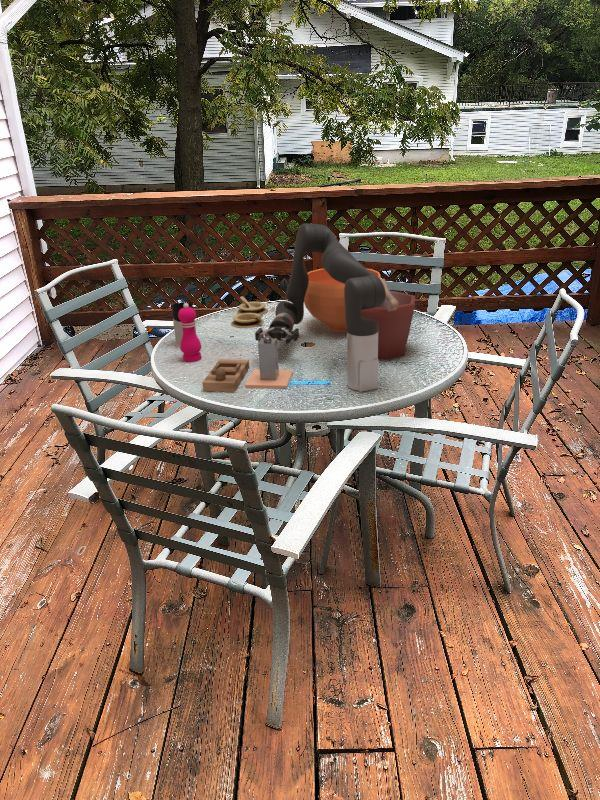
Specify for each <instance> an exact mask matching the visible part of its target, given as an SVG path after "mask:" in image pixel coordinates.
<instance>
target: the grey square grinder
mask: <svg viewBox="0 0 600 800" xmlns="http://www.w3.org/2000/svg"><path fill="white" fill-rule="evenodd" d="M257 350H258V352H257V353H258V364H259V365H258V366H259V369H260V380H277V378H278V376H279V370H280V368H279V367H280V366H279V364H280V363H279V352H278V350H279V349H278V340H277V339H271V337H270V336H265V335H264V337H263V338H261V340H260V341H259V343H258V342H257Z"/></svg>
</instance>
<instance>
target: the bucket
mask: <svg viewBox="0 0 600 800" xmlns="http://www.w3.org/2000/svg"><path fill="white" fill-rule="evenodd" d="M380 280H381V281H382V283H383V285H384V287H385V291H386V298H385V301H384V303H383V304H382V305H380V306H378V307H376V308H370V309H363V310H361V316H363V317H367V318H371V319H374V320H376V321H377V322H378V360H379V359H383V360H382V361H387V360H388V359H389V360H392V359H396V358H401V357H404V356H405V353H406V349H407V346H408V345H407V344H408V340H409V335H410V331H411V326H412V321H413V319H414V318H413V317H414V313H415V312H414V311H415V304H416V295H414V294H408V293H404V292H398V291H395V290H390V289H389V288H388V284H387V282H386V279H385V278H381V279H380ZM389 360H388V361H389Z"/></svg>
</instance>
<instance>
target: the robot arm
mask: <svg viewBox="0 0 600 800" xmlns="http://www.w3.org/2000/svg"><path fill="white" fill-rule="evenodd" d="M307 252H308V253H318V254H319V253H320V254H322V257H321V264H322V267H323V269H325V270H326V272H327V273H328V274H329V275H330V276H331V277H332V278H333V279H335V280H336V281H338V282H341V283H344V284H345V287H344V299H345V316H346V325H347V332H346V373H347V375H346V376H347V377H346V378H347V379H346V382H347V384H346V385H347V387H348V388H349V389H350V390H352V391H358V392H360V393H362V392H366V391H372V390H377V389H379V370H380V369H379V365H380V364H379V363H380V361H379V359H378V322H377V321H376V320H374V319H371V318H367V317H363V316H361V310H363V309H370V308H376V307H378V306H380V305H382V304H383V303H384V301H385V298H386V291H385V287H384V285H383V283H382V281H381V280H380V279H379V277H377V276H376V275H375V274H373V273H372V272H371V271H369V270H368V269H369V268H367V267H365V266H364V265H363V264H361V262H359V261H358V260H357V259H356V258H355V257H354V256H353V254H352V253H351V252H350V251H349V250H348V249H347V248H346V247H344V246H343V244H342V243H341V242H340V241H339V240H338V238H336V236H335V234H334V233H333V231H332V230H331V228H330V227H328V225H327V226H326V225H324V224H318V223H308V222H307V223H302V224H301V225H299V228H298V229H297V233H296V238H295V245H294V250H293V257H292V265H291V271H290V272H291V273H290V276H289V281H288V284H287V287H286V291H285V298H286V299H287V300H281V301H279V302H278V303H277V305H276V307H275V310H274V312H275V317H274V318H273V320H272V321H271V323H270V324H269V327H268V328H267V329H263V328H262V327H259V328H258V329H257V330H256V331H255V333H254V339H255V340H254V341H257V344H258V343H259V341H260V340H261V338H263V337H265V336H270V337H271V339H277V341H284V343H285V345H286V346H288V345H289V344H291V342H292V341H294V342H297V341H299V337H300V329H299V328H295V329H294V326H295V325H299V324H300V323H302V321H303V320H304V316H305V304H304V298H305V294H306V291H307V288H308V285H309V277H308V270H307V268H306V266H305V265H306V264H305V260H304V259H305V255H306V253H307ZM366 268H367V269H366Z"/></svg>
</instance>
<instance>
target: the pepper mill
mask: <svg viewBox="0 0 600 800" xmlns="http://www.w3.org/2000/svg"><path fill="white" fill-rule="evenodd" d="M183 307H184V308H182V309H180V311H179V313H178V317H179V319H180V320H181V327H182V328H183V337H182V340H181V344H180V348H179V349H180V351H181V353H183V354H182V359H183V361H184V362H187V363H195V362H197V361H200V360H201V359H202V353H201V352H200V351H201V350H202V342H201V341H200V339H199V337H198V335H197V331H196V332H195V326H196V324H197V323H196V318H197V313H196V310H195V309H194V307H193V308H190V307H189V305H188V304H187V303H184V305H183ZM194 320H195V321H194ZM194 361H195V362H194Z"/></svg>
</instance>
